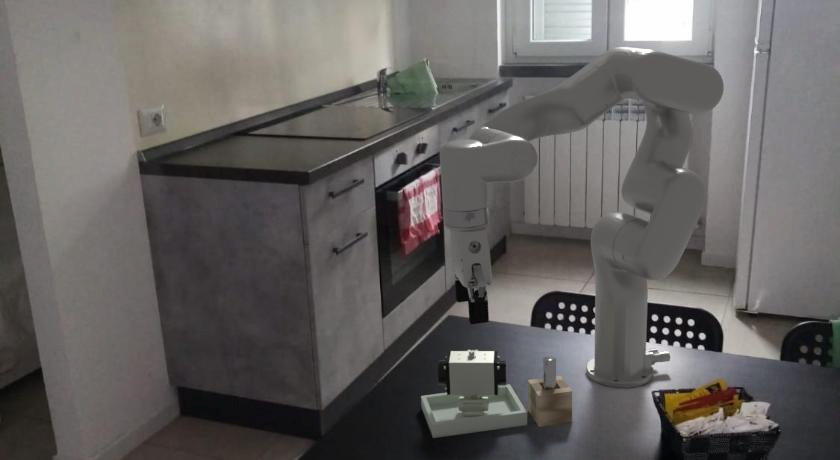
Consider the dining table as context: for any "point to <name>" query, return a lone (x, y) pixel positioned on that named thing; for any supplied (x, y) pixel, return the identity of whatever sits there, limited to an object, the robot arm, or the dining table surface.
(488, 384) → the pneumatic valve
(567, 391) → the bore block
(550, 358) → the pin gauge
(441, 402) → the tray
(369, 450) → the dining table surface
